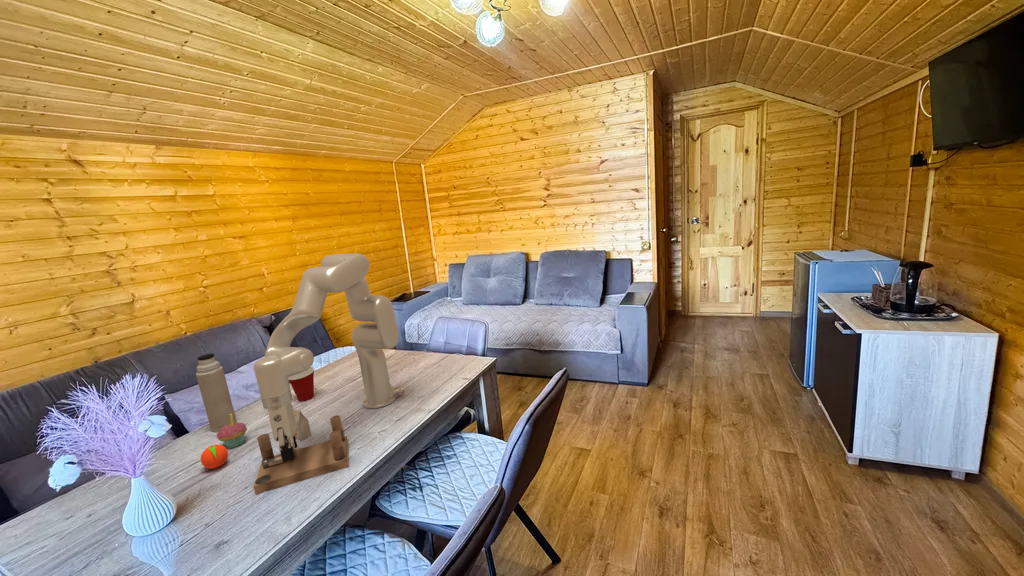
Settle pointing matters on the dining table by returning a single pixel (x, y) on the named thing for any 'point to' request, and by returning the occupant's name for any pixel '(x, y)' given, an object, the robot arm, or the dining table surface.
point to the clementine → (214, 456)
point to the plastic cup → (303, 384)
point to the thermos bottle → (214, 392)
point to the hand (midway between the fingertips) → (290, 453)
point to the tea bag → (301, 426)
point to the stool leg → (267, 462)
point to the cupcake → (232, 433)
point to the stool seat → (303, 460)
